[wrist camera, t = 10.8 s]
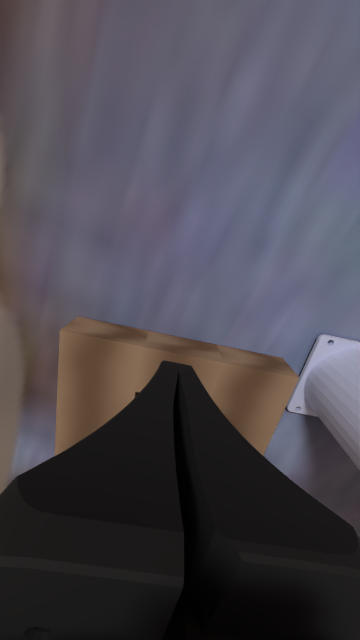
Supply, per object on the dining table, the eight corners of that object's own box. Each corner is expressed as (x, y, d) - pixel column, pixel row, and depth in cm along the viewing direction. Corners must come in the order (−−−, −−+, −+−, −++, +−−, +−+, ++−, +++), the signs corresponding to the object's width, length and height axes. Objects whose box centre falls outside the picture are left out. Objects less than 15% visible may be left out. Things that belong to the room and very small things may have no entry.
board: (282, 358, 20) (299, 377, 17) (235, 468, 25) (243, 498, 22) (78, 316, 19) (59, 330, 16) (69, 441, 23) (54, 468, 21)
